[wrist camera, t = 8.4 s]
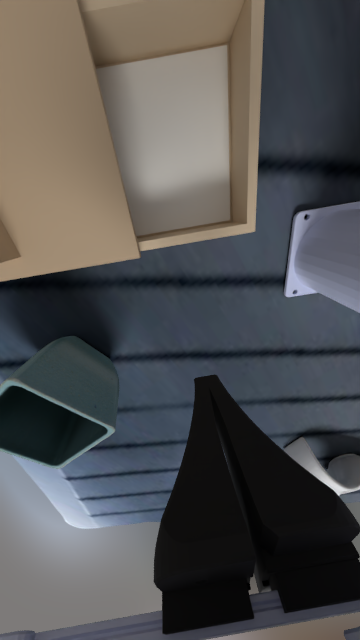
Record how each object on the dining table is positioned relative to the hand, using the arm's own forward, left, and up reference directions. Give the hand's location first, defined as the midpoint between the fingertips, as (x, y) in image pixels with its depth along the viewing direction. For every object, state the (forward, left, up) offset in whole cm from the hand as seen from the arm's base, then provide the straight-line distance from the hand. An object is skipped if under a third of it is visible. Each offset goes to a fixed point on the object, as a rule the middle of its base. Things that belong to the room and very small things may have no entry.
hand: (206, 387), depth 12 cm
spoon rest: (-24, +39, -11) cm, 47 cm away
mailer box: (+3, -13, -10) cm, 17 cm away
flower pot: (+14, +4, -11) cm, 18 cm away
